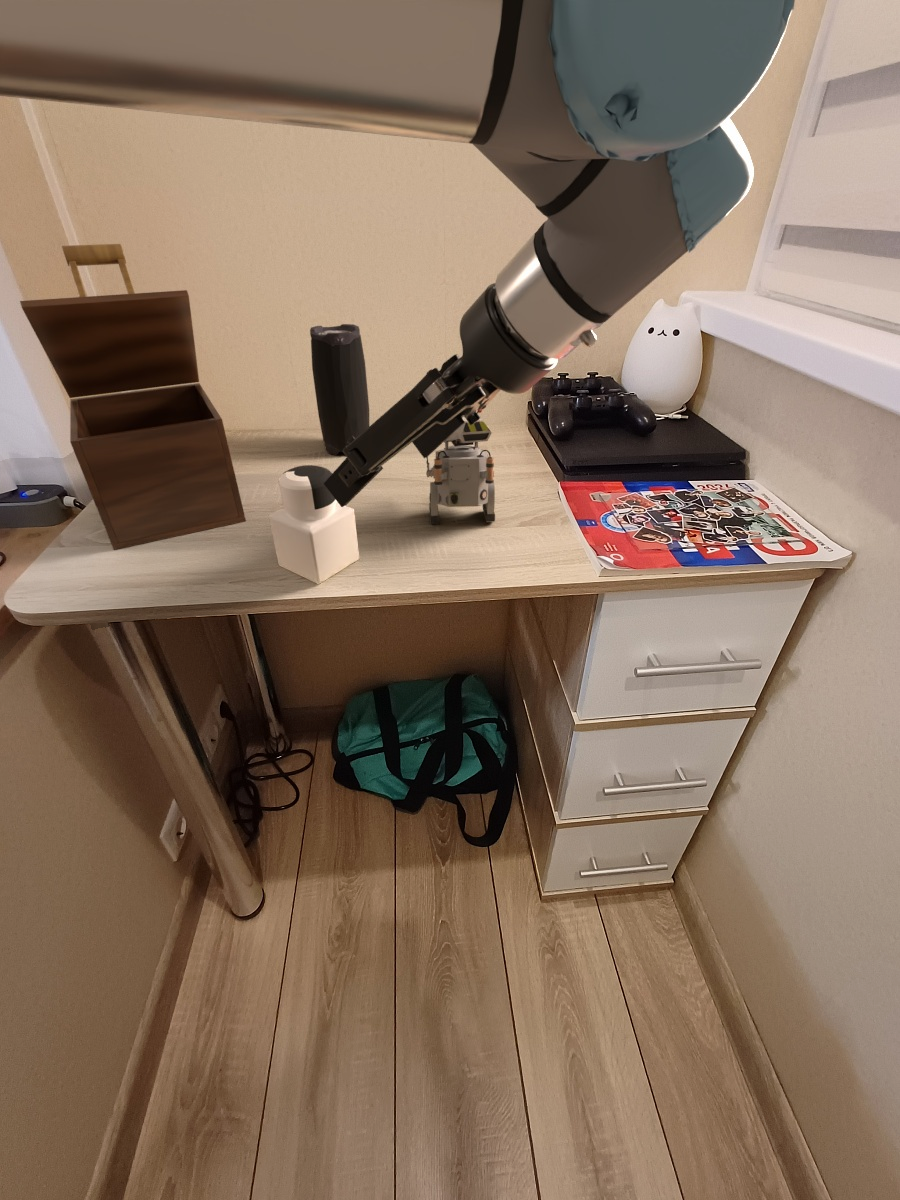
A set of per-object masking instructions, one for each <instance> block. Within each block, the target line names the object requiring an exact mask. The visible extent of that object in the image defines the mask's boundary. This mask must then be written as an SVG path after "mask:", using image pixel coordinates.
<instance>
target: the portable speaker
mask: <svg viewBox="0 0 900 1200" xmlns="http://www.w3.org/2000/svg"><path fill="white" fill-rule="evenodd" d="M309 334H310V335H309V336H310V351H311V369H312V377H313V384H314V393H315V399H316V405H317V406H316V407H317V414H318V419H319V425H320V430H321V435H322V441H323V442H324V448H325V452H327V453H328V454H329V455H333V456H337V455H339V453H341V452H342V451H343V449H344V448H345V446H346V445H348V444H349V443H348V441H347V440H348V439H349V438H350V437H351V436H353V437H354V438H355V439H356V438H357V437H358V436H359V435H360V434H362V433H363V432H364V431H365V430H366V429H367V428H368V427H370V402H369V391H368V379H367V368H366V359H365V354H364V348H363V342H362V336H361V332H360V326H358V325H356V324H353V323H352V324H350V323H342V324H340V325H335V326H322V325H316V326H311V327H310V329H309ZM342 453H343V452H342Z"/></svg>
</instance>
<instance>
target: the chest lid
mask: <svg viewBox="0 0 900 1200" xmlns="http://www.w3.org/2000/svg"><path fill="white" fill-rule="evenodd" d="M61 248H62V252H63V255H64V258H65V260H66V263H67V266H68V267H69V268H70V269H69V270H70V272H71V276H72V278H73V282H74V284H75V288H76V291H77V295H78V296H76V297H61V298H45V299H44V298H43V299H30V300H29V299H27V300H19V304H20V308H21V310H22V311H23V313H24V315H25V317H26V319H27V321H28V322H29V325H30V326H31V328H32V330H33V332H34V334H35V335H36V338H37V339H38V342H39V344H40V345H41V348H42V349H43V351H44V352H45V354H46V356H47V359H48V360H49V362H50V364H51V366H52V368H53V369H54V371H55V373H56V375H57V377H58V379H59V381H60V383H61V384H62V387H63V388H64V390H65V392H66V394H67V396H68V398H69V399H76V398H84V397H92V396H100V395H108V394H116V393H124V392H132V391H140V390H148V389H156V388H164V387H172V386H180V385H188V384H196V383H200V376H199V369H198V360H197V352H196V343H195V335H194V326H193V319H192V311H191V309H192V308H191V302H190V295H189V292H188V290H187V289H184V290H183V289H181V290H169V291H168V290H167V291H166V290H165V291H154V292H153V291H151V292H138V293H135V290H134V287H133V283H132V280H131V277H130V273H129V270H128V268H127V261H126V258H125V254H124V249H123V246H122V244H121V243H104V244H103V243H101V244H77V245H76V244H75V245H73V244H71V245H62V246H61ZM107 265H118V267H119V271H120V273H121V277H122V279H123V282H124V286H125V289H126V292H127V293H122V294H121V293H120V294H107V295H105V294H104V295H90V296H89V295H88V296H87V293H86V290H85V287H84V284H83V281H82V277H81V275H80V271H79V269H78V267H84V266H87V267H88V266H107Z"/></svg>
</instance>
